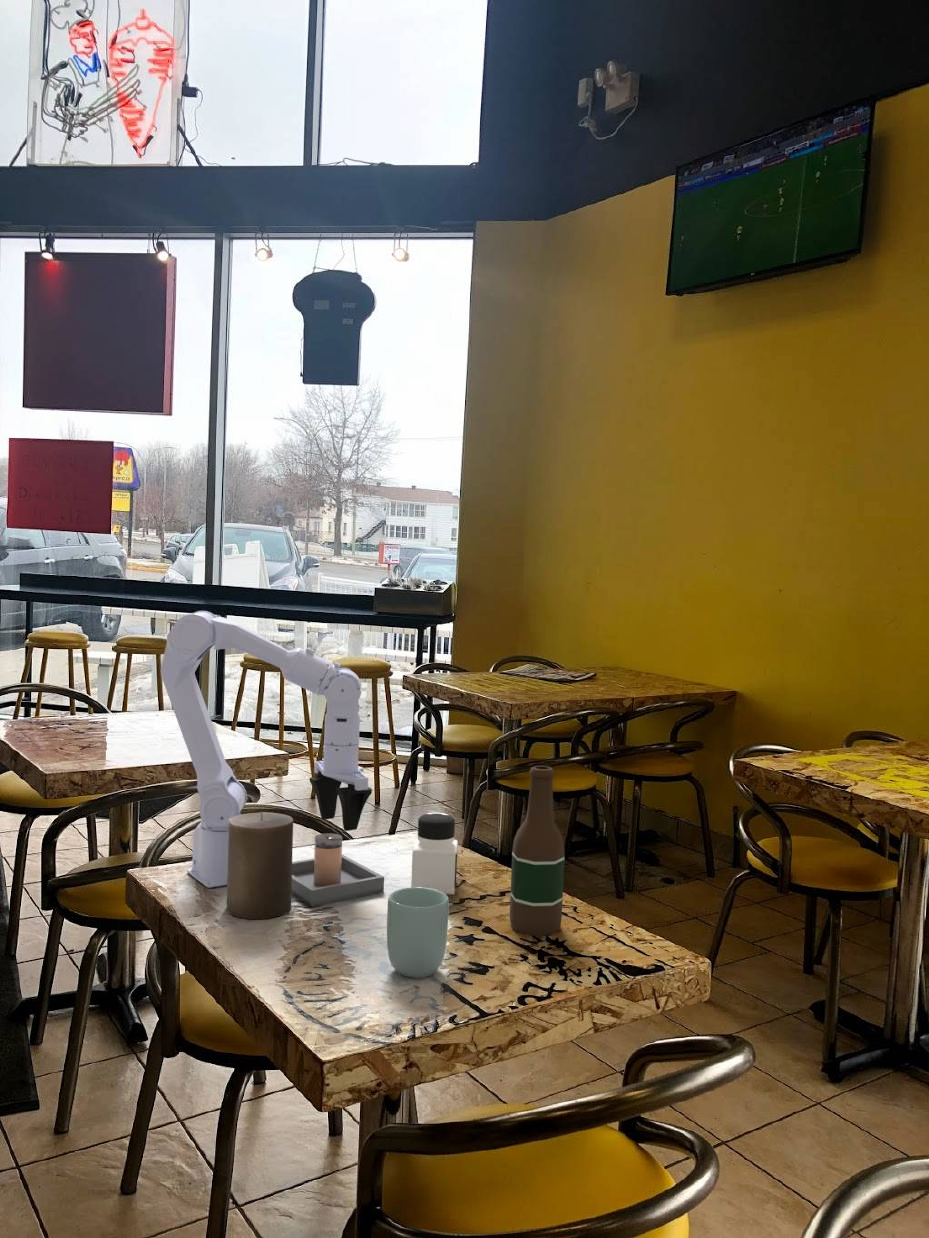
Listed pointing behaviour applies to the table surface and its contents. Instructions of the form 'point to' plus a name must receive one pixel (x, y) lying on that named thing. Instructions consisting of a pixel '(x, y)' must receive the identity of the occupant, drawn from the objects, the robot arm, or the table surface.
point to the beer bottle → (538, 862)
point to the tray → (352, 884)
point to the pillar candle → (259, 865)
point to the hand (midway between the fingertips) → (338, 824)
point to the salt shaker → (327, 859)
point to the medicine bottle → (435, 853)
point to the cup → (417, 930)
